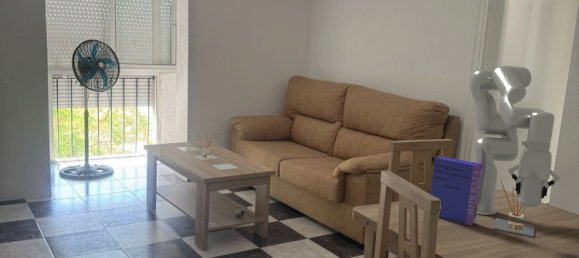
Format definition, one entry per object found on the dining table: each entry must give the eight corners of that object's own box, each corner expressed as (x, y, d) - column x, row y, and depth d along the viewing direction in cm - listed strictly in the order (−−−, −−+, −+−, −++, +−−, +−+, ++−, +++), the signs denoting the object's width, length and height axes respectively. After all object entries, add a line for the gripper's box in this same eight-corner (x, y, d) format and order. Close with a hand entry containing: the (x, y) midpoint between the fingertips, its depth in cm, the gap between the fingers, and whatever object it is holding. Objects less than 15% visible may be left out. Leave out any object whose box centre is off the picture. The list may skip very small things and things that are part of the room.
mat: (493, 229, 196) (493, 227, 196) (496, 219, 208) (496, 217, 208) (533, 237, 190) (533, 236, 190) (534, 226, 202) (534, 225, 202)
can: (538, 203, 185) (544, 171, 183) (541, 209, 178) (547, 176, 176) (516, 199, 188) (521, 168, 185) (518, 205, 181) (523, 172, 178)
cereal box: (475, 223, 202) (482, 163, 198) (470, 226, 198) (478, 165, 194) (433, 211, 213) (439, 155, 209) (428, 214, 209) (435, 156, 205)
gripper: (510, 144, 180) (503, 193, 183) (566, 152, 172) (557, 203, 175) (511, 141, 186) (504, 188, 189) (565, 149, 179) (557, 197, 182)
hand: (530, 195), depth 182 cm, fingers closed on can, 7 cm apart
